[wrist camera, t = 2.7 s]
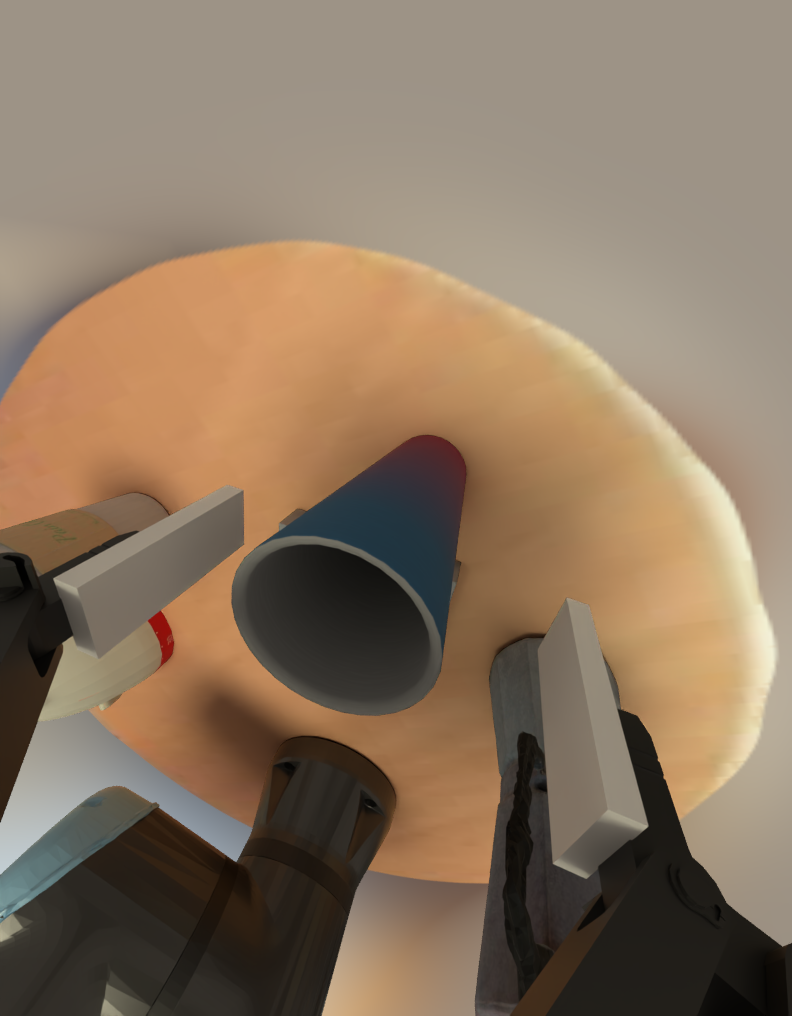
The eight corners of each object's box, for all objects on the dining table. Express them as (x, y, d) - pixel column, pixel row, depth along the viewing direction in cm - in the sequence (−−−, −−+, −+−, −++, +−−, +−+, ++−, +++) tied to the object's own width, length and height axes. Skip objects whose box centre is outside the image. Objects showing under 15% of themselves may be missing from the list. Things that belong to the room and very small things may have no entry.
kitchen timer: (51, 564, 41) (-165, 671, 28) (141, 568, 37) (-62, 696, 24) (106, 657, 46) (-53, 784, 33) (191, 670, 42) (47, 821, 29)
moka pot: (527, 747, 32) (547, 1237, 15) (442, 613, 28) (336, 1050, 11) (648, 735, 28) (878, 1400, 10) (567, 577, 24) (711, 1182, 7)
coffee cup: (150, 460, 30) (-124, 557, 17) (211, 555, 33) (15, 701, 20) (87, 490, 34) (-177, 588, 21) (146, 573, 37) (-54, 706, 24)
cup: (381, 515, 26) (255, 692, 13) (375, 420, 24) (205, 525, 10) (478, 523, 24) (442, 736, 11) (483, 420, 22) (442, 549, 9)
